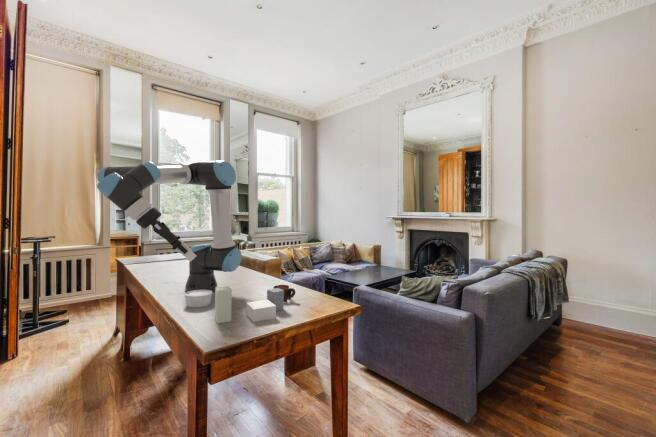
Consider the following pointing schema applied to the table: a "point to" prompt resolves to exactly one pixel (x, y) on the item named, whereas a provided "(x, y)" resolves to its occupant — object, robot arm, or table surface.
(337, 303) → the table surface
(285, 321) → the table surface
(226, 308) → the sage block
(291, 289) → the pottery mug
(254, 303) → the base block
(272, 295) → the slate block
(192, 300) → the ramekin
